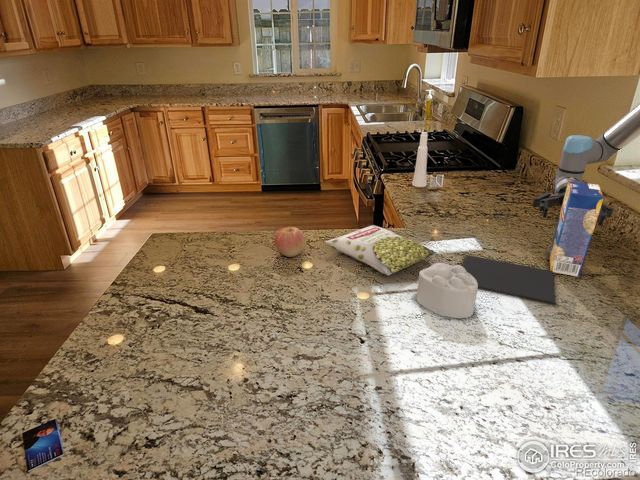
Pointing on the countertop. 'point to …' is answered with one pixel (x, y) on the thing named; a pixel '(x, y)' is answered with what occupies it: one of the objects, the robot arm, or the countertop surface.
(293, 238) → the apple
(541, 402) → the countertop surface
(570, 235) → the beverage box
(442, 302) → the lumpy-topped squat cylinder
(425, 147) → the cosmetic bottle
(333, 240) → the frozen beans
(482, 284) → the mat
